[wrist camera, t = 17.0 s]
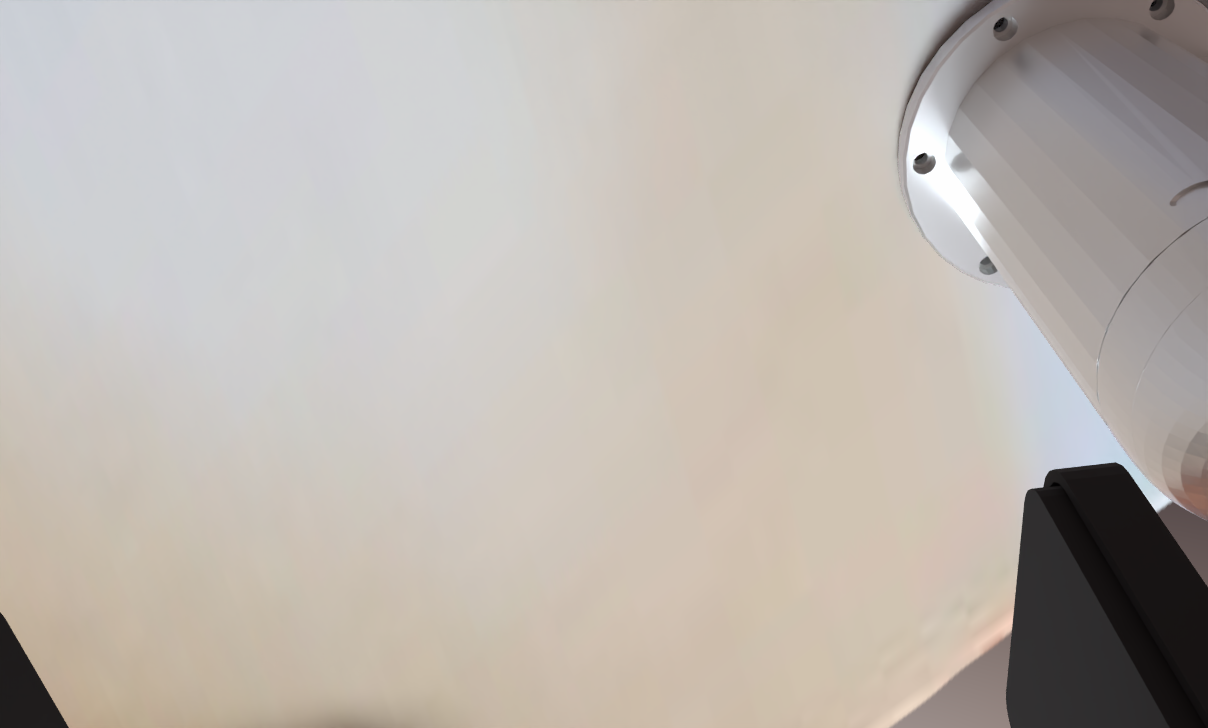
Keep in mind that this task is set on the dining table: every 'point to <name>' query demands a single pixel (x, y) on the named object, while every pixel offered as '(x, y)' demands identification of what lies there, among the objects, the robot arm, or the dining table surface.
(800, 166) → the dining table surface
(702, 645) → the dining table surface
